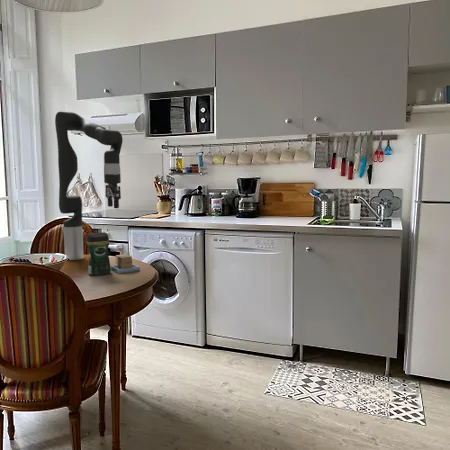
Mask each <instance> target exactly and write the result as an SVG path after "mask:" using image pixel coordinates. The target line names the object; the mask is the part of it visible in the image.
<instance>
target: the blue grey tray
mask: <svg viewBox="0 0 450 450" xmlns="http://www.w3.org/2000/svg"><path fill="white" fill-rule="evenodd" d="M110 267H111V271H113V273H116V274H118V275H120V274H126V273H127V274H128V273H133V272H140V271H141V269H140V266H138V265H136V264H134V263H132V268H125V269H118V264H115V265H110Z"/></svg>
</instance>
